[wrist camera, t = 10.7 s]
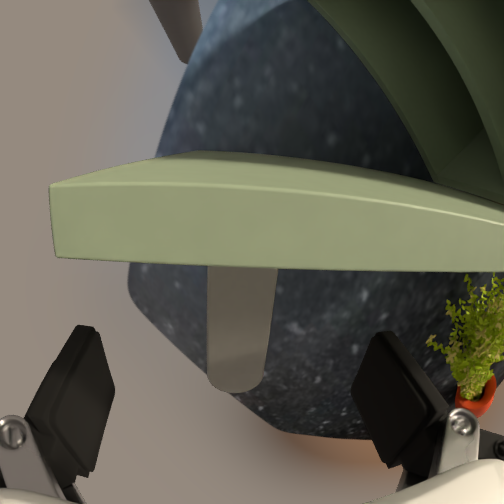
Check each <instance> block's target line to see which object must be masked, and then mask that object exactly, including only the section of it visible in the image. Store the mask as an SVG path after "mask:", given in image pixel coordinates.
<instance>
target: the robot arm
mask: <svg viewBox="0 0 504 504" xmlns="http://www.w3.org/2000/svg"><path fill="white" fill-rule="evenodd" d="M114 395H115V386H114V383H113V379H112V376H111V373H110V370H109V366H108V363H107V359H106V356H105V352H104V348H103V345H102V341H101V337H100V334H99V332H96V331H95V329H94V327H91V326H84V325H77V326H76V327H75V329H74V330H73V332H72V333H71V335H70V337H69V339H68V340H67V342H66V343H65V345H64V347H63V348H62V350H61V352H60V353H59V355H58V357H57V359H56V360H55V361H54V362H53V363H52V365H51V367H50V368H49V370H48V372H47V374H46V376H45V377H44V379H43V381H42V383H41V385H40V387H39V389H38V391H37V392H36V395H35V397H34V399H33V401H32V403H31V404H30V406H29V408H28V411H27V413H26V415H25V417H24V419H23V418H22V417H20V416H16V415H8V416H5V417H3V418H1V419H0V504H86V502H85V500H84V498H83V497H82V495H81V493H80V492H79V490H78V488H77V486H76V485H75V480H76V476H77V475H80V476H83V477H86V478H88V476H89V472H93V471H94V469H95V465H96V461H97V457H98V452H99V449H100V445H101V441H102V437H103V434H104V430H105V426H106V423H107V419H108V416H109V412H110V409H111V405H112V402H113V399H114ZM351 395H352V398H353V400H354V402H355V404H356V406H357V408H358V411H359V413H360V415H361V417H362V419H363V421H364V423H365V426H366V428H367V430H368V432H369V434H370V437H371V439H372V441H373V443H374V445H375V448H376V450H377V452H378V454H379V457H380V458H381V461H382V462H383V463H386V465H387V467H388V469H389V468H392V467H395V466H398V465H400V464H401V463H402V465H403V467H404V469H403V472H402V476H401V478H400V481H399V484H398V487H397V489H396V492H395V493H393V494H390V495H388V496H385V497H382V498H379V499H376V500H373V501H370V502H367V503H364V504H504V436H502V435H499V434H496V433H492V432H489V431H486V430H483V429H480V426H479V421H478V419H477V417H476V416H475V415H474V414H473V413H472V412H471V411H469V410H467V409H465V408H455V409H453V410H451V412H450V413H449V414H448V412H447V409H448V408H449V405H448V404H447V403H446V401H445V400H444V398H443V397H442V396H441V394H440V393H439V391H438V390H437V389H436V387H435V386H434V385H433V383H432V382H431V380H430V379H429V378H428V376H427V375H426V374H425V372H424V371H423V370H422V368H421V367H420V366H419V364H418V363H417V362H416V360H415V359H414V358H413V356H412V355H411V354H410V353H409V351H408V350H407V349H406V347H405V346H404V345H403V344H402V342H401V341H400V340H399V338H398V337H397V336H396V335H395V333H394V332H393V331H384V332H377V333H376V334H375V336H374V337H372V338H371V340H370V343H369V346H368V348H367V351H366V353H365V356H364V358H363V361H362V363H361V365H360V368H359V370H358V373H357V375H356V377H355V379H354V382H353V384H352V386H351Z"/></svg>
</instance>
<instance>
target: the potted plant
mask: <svg viewBox="0 0 504 504" xmlns="http://www.w3.org/2000/svg"><path fill="white" fill-rule="evenodd" d="M468 275H469V274H465V277H464V281H463V282H466V281H468V279H467V278H468ZM494 275H495V272H493V277H494ZM496 280H497V281H496ZM493 281H496V282H498V284H499V288H497V289H496V290H495V291H497V292H495V291H494V290H493V288H495V287H498V286H497V284H494V283H493ZM500 281H501V282H504V279H502V280H500V279H498V278H497V277H495V278H494V279H493V278H492V284H494V285H493V287H492V290H491V291H489V292H488V293H487V291H486V289H485V287H486V284H485V285H484V286H483V287H480V289H481V290H480V291H482V292H483V293H482V298H480V300H482V304H481V303H479V301H480V300H479V301H478V304H477V302H476V299H478V298H479V297H478V296H477V295H474V294H473V292H472V291H474V290H475V289H476V288H477V286H476V287H475V288H474V287H473V286H470V283H471V282H472V281H471V278H469V282H468V285H467V289H468V290H467V291H468V292H469V291H470V289H471V291H470V293H469V294H470V297H471V299H469V300H466V301H468V303H471V302H472V303H471V305H470V306H465V307H464V306H463V305H462V309H463V310H465V309H467V310H468V311H469V312H468V311H466V313H467V314H464V315H463V316H461V314H460V313H461V309H459V310H458V311H457V313H455V304H454V305H453V306H449V305H450V304H451V302H450V301H449V300H447V303H448V305H447V306H446V308H445V311H446V310H449V311H447V312H446V315H450V317H452V323H454V322H455V319H456V321H457V322H459V320H458V318H455V316H459V319H460V320H461V323H465V325H463V327H461V326H460V325H458V324H457V323H454V324H456V325H455V327H456V331H455V332H452V333H450V335H454V337H449V340H450V342H449V344H450V345H451V344H452V343H453V342H454V344H453V346H452V347H451V348H450V347H449V345H448V347H446V348H444V349H445V350H444V349H443V347H442V346H443V345H442V343H441V344H440V345H439V346H437V343H436V341H435V343H434V342H432V339H433V338H435V337H436V336H437V335H436V334H435V335H434V336H433V335H430V338H429V339H428V340H427V341H426V343H428V342H429V343H428V344H427V347H428V346H431V345H433V346H434V351H435V350H438V349H441V352H442V353H443V354H445V353H447V354H448V355H447V356H446V357H445V358H446V363H447V364H448V363H450V364H451V367H450V368H451V371H453V373H452V375H454V376H453V378H455V379H456V381H457V380H458V383H459V384H458V383H457V384H458V385H457V386H458V388H457V392H456V397H455V406H456V408H465V409H467V410H469V411H471V412H472V413H473V414H474V415H475V416H476V417H477V418H478V417H480V416H481V415H483V414H484V413H485V412H486V411H487V410H488V408H489V407H490V405H491V403H492V401H493V398H494V393H495V390H496V379H495V377H494V374H493V373H492V372H493V369H492V370H491V371H490V370H489V368H490V365H492V363H498V362H500V361H502V360H504V356H499V355H501V354H502V353H503V352H504V346H503V344H504V342H503V340H504V294H503V295H502V294H501V292H500V290H499V289H502V290H503V289H504V287H503V285H501V282H500ZM470 287H471V288H470ZM492 292H493V293H492ZM486 293H487V296H490V295H491V296H490V297H489V299H488V298H485V297H483V294H486ZM491 293H492V294H493V295H492V294H491ZM497 293H498V294H499V295H498V296H497V297H493V296H494V295H496V294H497ZM503 293H504V290H503ZM501 297H502V299H503V301H502V299H501V301H500V298H501ZM487 299H488V300H487ZM490 299H491V301H492V300H493V301H492V302H493V303H492V302H491V301H490ZM485 300H487V304H488V306H489V307H488V308H487V311H486V312H485V310H484V309H485V308H486V307H487V305H485V304H484V303H483V302H484V301H485ZM466 301H463V300H462V301H461V300H460V299H459V304H460V306H461V302H462V303H463V304H465V303H466ZM474 301H475V302H474ZM474 303H475V306H476V309H474V308H473V305H474ZM482 305H483V306H484V307H483V308H484V309H483V308H482ZM495 305H496V306H495ZM494 306H495V308H494ZM498 306H499V308H498ZM496 307H497V308H498V310H497V308H496ZM471 308H473V309H474V310H475V311H474V310H473V309H471ZM479 308H481V309H479ZM471 310H472V311H471ZM452 311H453V312H452ZM473 311H474V312H473ZM477 311H478V312H477ZM494 312H495V313H496V314H495V313H494ZM462 317H463V318H462ZM477 317H478V318H477ZM454 318H455V319H454ZM464 318H466V319H465V321H464ZM491 318H492V319H491ZM466 321H467V323H466ZM466 327H467V328H466ZM458 328H459V329H462V330H464V333H461V331H460V330H459V332H458V333H459V335H460V338H459V341H460V340H461V337H462V338H463V337H465V336H466V334H467V336H466V337H467V338H463V340H462V341H463V343H462V341H461V342H460V343H459V341H458V342H457V340H456V339H458V336H457V330H458ZM452 330H455V329H452ZM461 335H462V336H461ZM468 340H471V342H470V341H468ZM468 342H470V343H468ZM467 343H468V344H467ZM461 344H462V345H463V349H464V348H465V345H467V346H466V348H465V349H464V352H463V353H462V350H461V349H460V345H461ZM469 344H470V346H469ZM468 346H469V347H468ZM451 349H452V350H451ZM468 351H469V352H468ZM466 353H467V354H466ZM454 356H455V357H454ZM463 357H464V358H465V357H466V358H465V359H464V358H463ZM495 358H496V362H495ZM498 358H499V359H498ZM502 358H503V359H502Z"/></svg>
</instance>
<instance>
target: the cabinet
mask: <svg viewBox="0 0 504 504" xmlns="http://www.w3.org/2000/svg"><path fill="white" fill-rule="evenodd" d="M307 1H308V2H309V3H310V4H311V5H312V6H313V7H314V8H315V9H316V10H317V11H318V12H319V13H320V14H321V15H322V16H323V17H324V18H325V19H326V20H327V21H328V22H329V24H330V25H331V26H332V27H333V28H334V29H335V30H336V31H337V32H338V34H339V35H340V36H341V37H342V38H343V39H344V41H345V42H346V43H347V44H348V45H349V47H350V48H351V49H352V50H353V51H354V53H355V54H356V55H357V56H358V58H359V59H360V60H361V62H362V63H363V64H364V66H365V67H366V68H367V70H368V71H369V72H370V74H371V75H372V76H373V78H374V79H375V81H376V82H377V83H378V85H379V86H380V88H381V89H382V91H383V92H384V94H385V95H386V97H387V98H388V100H389V101H390V103H391V104H392V106H393V107H394V109H395V111H396V112H397V114H398V116H399V117H400V119H401V120H402V122H403V124H404V126H405V127H406V129H407V131H408V132H409V134H410V136H411V138H412V140H413V141H414V143H415V145H416V147H417V149H418V151H419V153H420V155H421V157H422V159H423V161H424V163H425V165H426V167H427V169H428V171H429V173H430V175H431V177H432V179H433V181H434V182H435V183H438V184H442V185H445V186H449V187H452V188H455V189H459V190H462V191H465V192H468V193H471V194H475V195H478V196H481V197H483V198H486V199H489V200H492V201H495V202H498V203H500V204H503V205H504V0H307Z"/></svg>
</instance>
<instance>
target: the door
mask: <svg viewBox="0 0 504 504" xmlns="http://www.w3.org/2000/svg"><path fill="white" fill-rule="evenodd" d="M49 204H50V216H51V226H52V236H53V243H54V250H55V256H56V257H57V258H68V259H84V260H101V261H119V262H136V263H155V264H176V265H198V266H208V277H207V377H208V379H209V381H210V383H211V384H212V385H213V386H214V387H215V388H217V389H219V390H221V391H224V392H228V393H241V392H245V391H248V390H251V389H253V388H254V387H256V386H257V385H258V384H259V383H260V382H261V380H262V378H263V374H264V367H265V360H266V354H267V347H268V340H269V334H270V327H271V320H272V313H273V306H274V298H275V291H276V283H277V276H278V269H308V270H347V271H401V272H504V206H503V205H501V204H498V203H495V202H493V201H490V200H487V199H484V198H481V197H478V196H475V195H472V194H469V193H466V192H463V191H460V190H456V189H453V188H450V187H446V186H443V185H440V184H436V183H432V182H429V181H424V180H420V179H416V178H412V177H407V176H403V175H398V174H393V173H389V172H384V171H379V170H373V169H368V168H362V167H357V166H351V165H345V164H338V163H332V162H325V161H318V160H311V159H303V158H294V157H285V156H276V155H265V154H254V153H241V152H225V151H203V150H198V151H192V152H185V153H179V154H173V155H168V156H162V157H157V158H152V159H148V160H142V161H138V162H133V163H128V164H124V165H119V166H115V167H111V168H108V169H103V170H99V171H95V172H91V173H88V174H84V175H81V176H77V177H73V178H70V179H66V180H63V181H60V182H56V183H53V184H51V185H50V186H49Z"/></svg>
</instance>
